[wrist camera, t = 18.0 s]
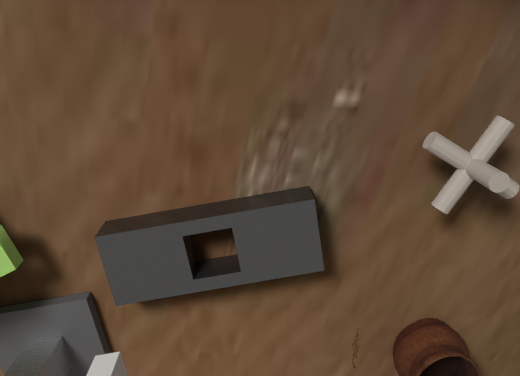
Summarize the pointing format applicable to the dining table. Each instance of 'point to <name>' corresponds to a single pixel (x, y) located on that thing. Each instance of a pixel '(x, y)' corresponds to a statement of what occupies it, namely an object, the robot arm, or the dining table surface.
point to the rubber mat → (54, 329)
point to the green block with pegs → (8, 254)
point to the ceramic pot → (430, 351)
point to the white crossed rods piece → (472, 164)
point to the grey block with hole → (218, 269)
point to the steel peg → (42, 359)
